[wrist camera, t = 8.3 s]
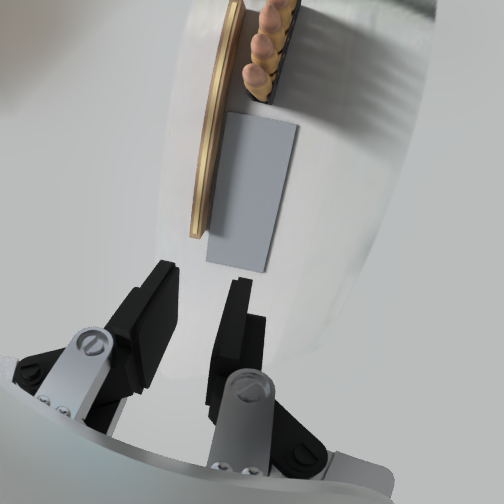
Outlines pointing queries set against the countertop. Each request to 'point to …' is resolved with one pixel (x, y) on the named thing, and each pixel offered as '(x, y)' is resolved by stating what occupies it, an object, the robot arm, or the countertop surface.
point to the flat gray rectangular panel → (248, 190)
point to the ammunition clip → (270, 49)
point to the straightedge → (215, 116)
